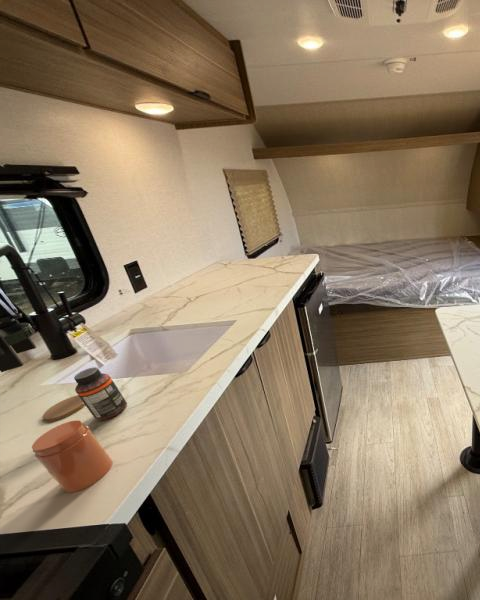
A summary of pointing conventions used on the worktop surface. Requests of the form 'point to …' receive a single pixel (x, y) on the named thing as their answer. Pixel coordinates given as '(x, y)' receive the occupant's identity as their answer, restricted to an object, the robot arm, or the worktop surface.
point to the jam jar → (72, 455)
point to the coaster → (64, 408)
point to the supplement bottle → (99, 394)
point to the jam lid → (16, 332)
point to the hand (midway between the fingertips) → (19, 358)
